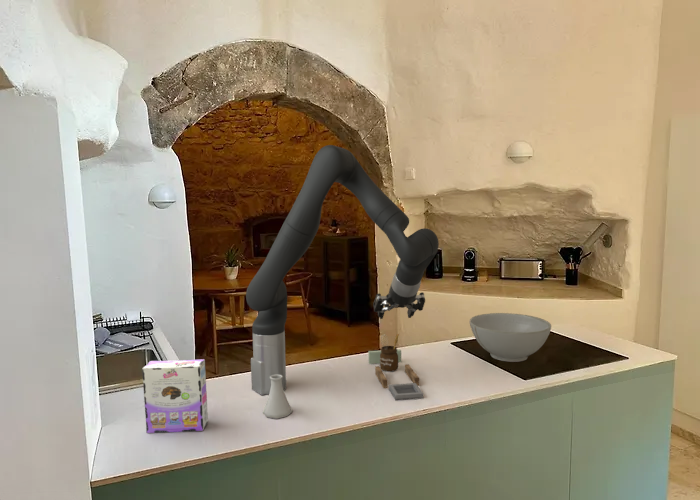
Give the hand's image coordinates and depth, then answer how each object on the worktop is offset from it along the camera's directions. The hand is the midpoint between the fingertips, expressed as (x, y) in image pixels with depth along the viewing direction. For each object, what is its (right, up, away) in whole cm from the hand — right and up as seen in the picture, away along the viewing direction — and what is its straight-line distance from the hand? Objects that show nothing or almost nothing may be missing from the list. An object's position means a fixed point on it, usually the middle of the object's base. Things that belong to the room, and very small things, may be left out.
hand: (394, 315), depth 150 cm
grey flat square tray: (+3, -21, -6) cm, 22 cm away
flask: (-32, -23, -17) cm, 43 cm away
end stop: (-1, -18, +21) cm, 28 cm away
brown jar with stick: (0, -19, +15) cm, 24 cm away
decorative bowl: (+42, -18, +26) cm, 52 cm away
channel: (+1, -20, +5) cm, 21 cm away
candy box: (-56, -25, -25) cm, 66 cm away
